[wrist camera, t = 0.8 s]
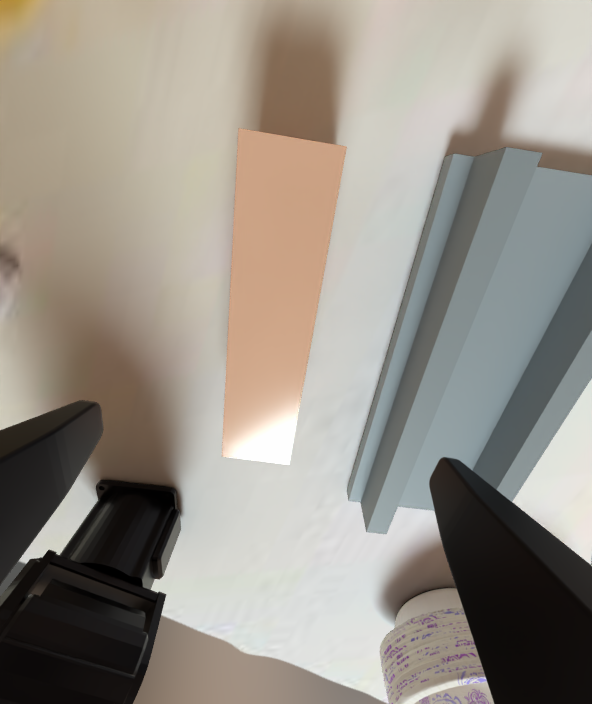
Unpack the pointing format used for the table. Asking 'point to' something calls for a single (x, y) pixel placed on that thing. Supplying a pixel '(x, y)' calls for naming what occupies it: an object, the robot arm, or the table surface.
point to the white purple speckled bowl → (433, 654)
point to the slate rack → (483, 333)
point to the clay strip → (275, 286)
